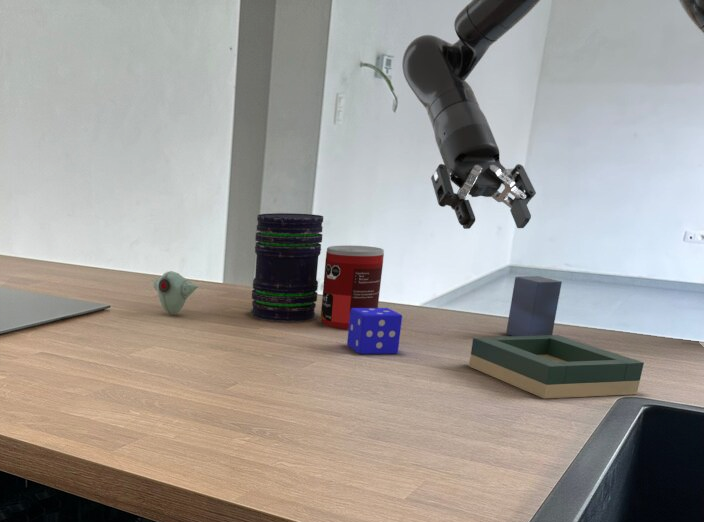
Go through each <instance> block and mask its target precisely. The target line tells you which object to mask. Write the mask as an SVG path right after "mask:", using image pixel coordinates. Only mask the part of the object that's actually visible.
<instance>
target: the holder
mask: <svg viewBox="0 0 704 522" xmlns="http://www.w3.org/2000/svg"><path fill="white" fill-rule="evenodd" d="M644 363H645V362H643V361H641V360H638V359H635V358H631V357H628V356H625V355H623V354H619V353H615V352H613V351H612V352H611V351H609V350H605V349H602V348H600V347H597V346H593V345H590V344H587V343H584V342H580V341H577V340H575V339H572V338H568V337H564V336H563V335H562V336H561V335H559V334H552V335H541V336H486V337H485V336H484V337H483V336H482V337H473V338H472V344H471V351H470V357H469V362H468V367H469V368H471V369H474V370H477V371H479V372H481V373H483V374H486V375H488V376H491V377H493V378H495V379H497V380H499V381H502V382H504V383H506V384H508V385H511V386H514V387H516V388H517V389H520V390H522V391H525V392H527V393H530V394H532V395H535V396H537V397H539V398H541V399H544V400H545V399H564V398H565V399H566V398H584V397H585V398H586V397H587V398H588V397H589V398H590V397H608V396H609V397H610V396H628V395H630V396H632V395H637V394H638V391H639V386H640V382H641V377H642V373H643V369H644Z"/></svg>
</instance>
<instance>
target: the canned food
mask: <svg viewBox="0 0 704 522" xmlns="http://www.w3.org/2000/svg"><path fill="white" fill-rule="evenodd" d="M325 252H326V253H325V260H324V261H325V263H324V274H323V284H322V285H323V286H322V298H321V311H320V319H321V324H323V325H324V326H326V327H329V328H334V329H340V330H341V329H342V330H349V320H350V310H351V308H379V300H380V291H381V284H382V275H383V268H384V267H383V266H384V256H385V255H384V254H385V250H384V249H383V248H382V247H376V246H369V245H368V246H367V245H347V244H346V245H332V246H331V245H330V246H328V247H326V251H325Z"/></svg>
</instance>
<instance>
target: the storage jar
mask: <svg viewBox="0 0 704 522" xmlns="http://www.w3.org/2000/svg"><path fill="white" fill-rule="evenodd" d="M256 218H257V219H256V221H257V225H256V231H257V232H255V239H254V240H255V247H254V253H255V255H256V260H255V272H254V273H255V275H254V278H253V279H252V290H251V299H252V302H251V305H252V310H251V317H253V318H254V319H258V320H263V321H268V322H269V321H270V322H281V323H298V322H299V323H300V322H307V321H312V320H314V319H315V317H316V312H315V309H316V308H317V307H316V306H317V304H316V303H315V302H317V301H318V294H319V293H318V292H317V291H318V287H319V282H318V280H317V276H318V268H319V257H320V255H321V252H322V244H321V243H323V236H324V235H323V234H322V233H323V228H324V227H323V222H324V216H323V215H320V214H312V213H288V212H287V213H286V212H285V213H284V212H281V213H280V212H279V213H277V212H276V213H261V214H257V217H256Z"/></svg>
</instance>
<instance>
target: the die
mask: <svg viewBox="0 0 704 522" xmlns="http://www.w3.org/2000/svg"><path fill="white" fill-rule="evenodd" d="M402 321H403V315H402V314H401V313H399V312H398V311H395V310H393V309H392V308H389V307H378V308H351V310H350V320H349V329H347V330H348V333H347V340H346V346H347V347H348V348H350V349H351V350H353V351H354V352H356V353H357V354H359V355H397V354H398V353H399V346H400V338H401V329H402Z"/></svg>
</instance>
